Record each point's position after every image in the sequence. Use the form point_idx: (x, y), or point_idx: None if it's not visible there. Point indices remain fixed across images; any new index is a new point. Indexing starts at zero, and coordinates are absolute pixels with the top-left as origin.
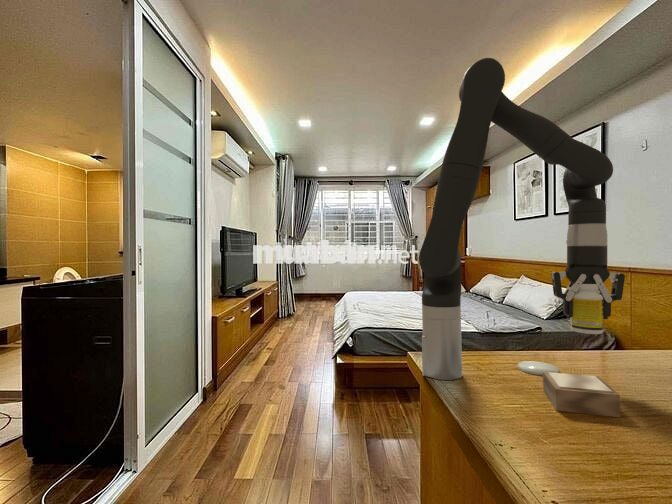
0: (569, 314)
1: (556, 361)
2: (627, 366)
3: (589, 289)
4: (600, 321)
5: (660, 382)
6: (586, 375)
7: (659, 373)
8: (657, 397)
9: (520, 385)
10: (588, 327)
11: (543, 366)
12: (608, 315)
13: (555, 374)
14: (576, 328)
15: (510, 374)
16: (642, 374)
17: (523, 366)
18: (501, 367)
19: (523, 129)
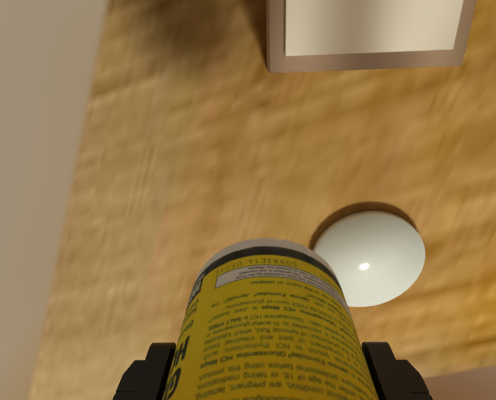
0: (389, 352)
1: None
2: (122, 341)
3: None
4: (206, 297)
5: (72, 242)
6: (315, 52)
7: (61, 309)
8: (106, 113)
9: (480, 94)
10: (280, 255)
11: (351, 268)
12: (139, 367)
13: (435, 25)
14: (331, 270)
15: (468, 194)
16: (101, 291)
17: (412, 253)
18: (469, 251)
19: None
